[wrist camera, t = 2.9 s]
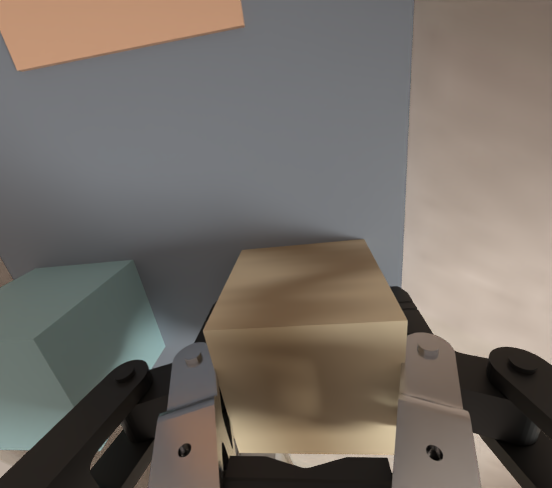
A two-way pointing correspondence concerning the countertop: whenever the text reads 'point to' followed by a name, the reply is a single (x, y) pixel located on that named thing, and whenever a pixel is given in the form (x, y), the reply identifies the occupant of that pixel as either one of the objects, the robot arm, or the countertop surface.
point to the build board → (200, 137)
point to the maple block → (309, 350)
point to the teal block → (67, 341)
